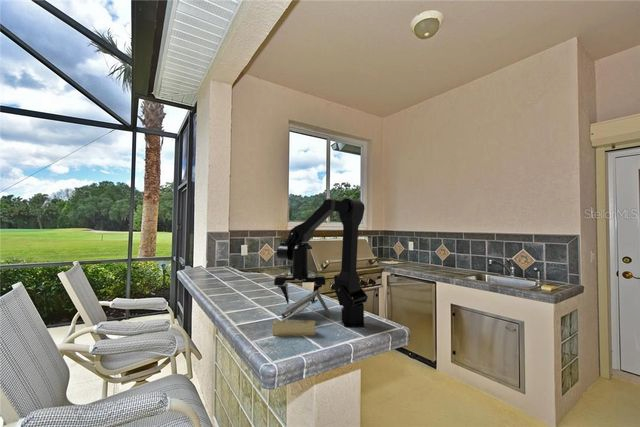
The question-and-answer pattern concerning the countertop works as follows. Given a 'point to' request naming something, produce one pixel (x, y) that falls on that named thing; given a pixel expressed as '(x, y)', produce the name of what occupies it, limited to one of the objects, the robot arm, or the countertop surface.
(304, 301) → the bracket
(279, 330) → the tan wooden block
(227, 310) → the countertop surface
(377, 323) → the countertop surface
